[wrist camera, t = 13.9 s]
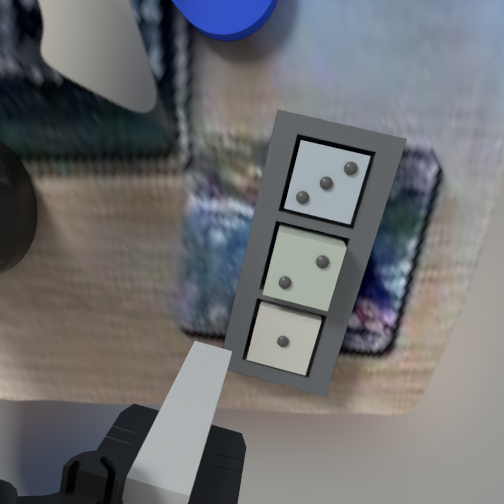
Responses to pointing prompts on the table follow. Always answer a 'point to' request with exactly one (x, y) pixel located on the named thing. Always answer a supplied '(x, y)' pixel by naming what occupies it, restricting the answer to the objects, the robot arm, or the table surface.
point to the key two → (304, 267)
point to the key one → (284, 337)
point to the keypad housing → (355, 234)
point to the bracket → (226, 16)
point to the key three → (326, 181)
